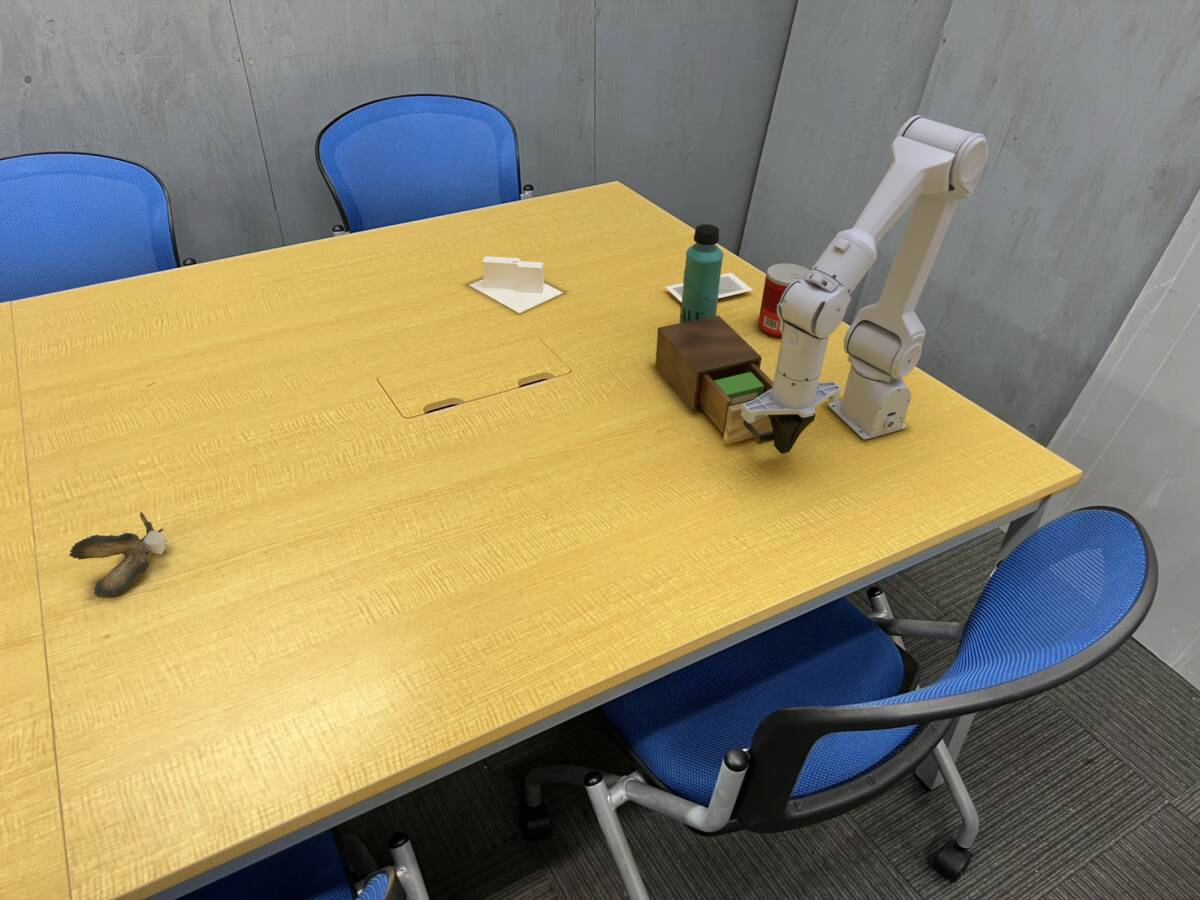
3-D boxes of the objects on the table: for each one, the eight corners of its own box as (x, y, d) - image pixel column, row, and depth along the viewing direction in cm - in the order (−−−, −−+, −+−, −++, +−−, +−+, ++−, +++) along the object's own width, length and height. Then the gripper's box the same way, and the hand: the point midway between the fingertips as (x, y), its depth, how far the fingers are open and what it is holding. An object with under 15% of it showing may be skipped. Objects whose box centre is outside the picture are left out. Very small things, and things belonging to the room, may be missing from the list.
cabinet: (754, 397, 129) (761, 357, 124) (692, 413, 125) (697, 372, 120) (713, 354, 139) (718, 314, 134) (655, 367, 135) (657, 327, 130)
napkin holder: (468, 285, 156) (465, 258, 152) (511, 266, 162) (510, 239, 159) (520, 313, 148) (518, 285, 144) (564, 292, 154) (563, 265, 151)
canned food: (805, 340, 142) (817, 284, 135) (760, 339, 142) (770, 283, 135) (798, 317, 148) (809, 263, 141) (755, 316, 148) (763, 262, 141)
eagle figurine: (136, 526, 103) (63, 560, 96) (146, 499, 98) (71, 533, 92) (172, 572, 103) (102, 609, 96) (185, 547, 98) (112, 585, 91)
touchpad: (752, 295, 155) (754, 285, 153) (684, 310, 150) (685, 300, 148) (730, 277, 160) (731, 267, 159) (664, 292, 155) (665, 281, 154)
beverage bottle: (714, 324, 146) (727, 220, 133) (714, 344, 141) (728, 237, 128) (678, 322, 146) (687, 217, 134) (677, 341, 141) (687, 235, 129)
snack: (760, 409, 123) (764, 385, 120) (723, 419, 121) (726, 394, 118) (746, 395, 126) (750, 371, 123) (710, 404, 124) (713, 380, 121)
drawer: (803, 448, 118) (811, 415, 114) (744, 464, 115) (750, 431, 111) (742, 383, 130) (747, 351, 127) (687, 396, 127) (690, 364, 123)
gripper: (767, 397, 100) (752, 478, 109) (862, 373, 105) (841, 453, 113) (738, 368, 105) (726, 448, 114) (831, 346, 110) (812, 424, 118)
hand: (781, 448), depth 114 cm, fingers closed, pressing on drawer
